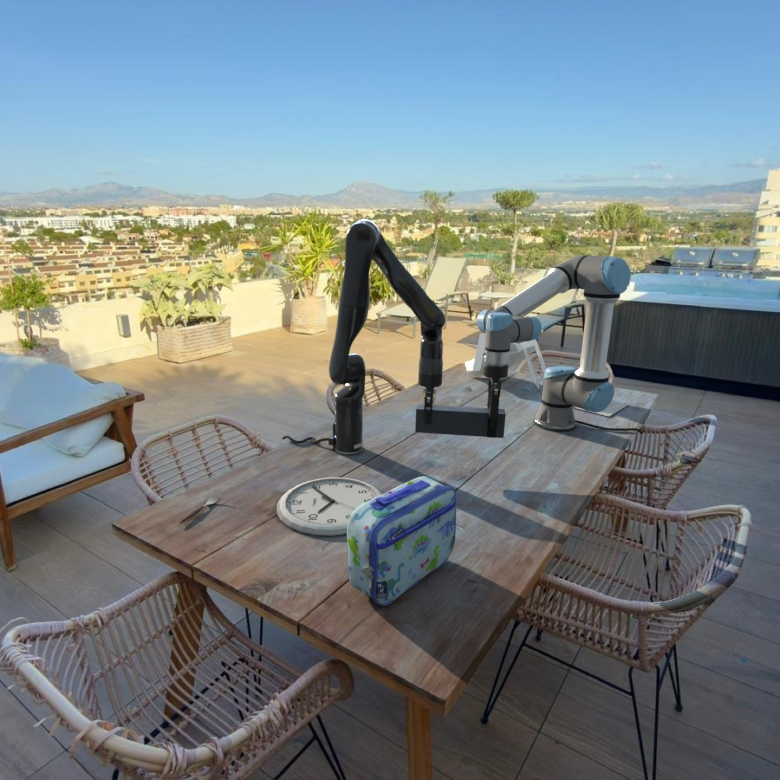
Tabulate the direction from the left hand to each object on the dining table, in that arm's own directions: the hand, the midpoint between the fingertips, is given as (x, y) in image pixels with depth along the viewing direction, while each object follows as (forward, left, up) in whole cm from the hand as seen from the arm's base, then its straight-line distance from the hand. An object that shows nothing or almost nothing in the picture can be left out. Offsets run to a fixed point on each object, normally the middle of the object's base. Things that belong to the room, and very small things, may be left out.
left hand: (428, 420), depth 169 cm
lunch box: (+24, -58, -13) cm, 64 cm away
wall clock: (-8, -41, -13) cm, 44 cm away
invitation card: (+40, +88, -13) cm, 98 cm away
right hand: (+18, +8, -3) cm, 20 cm away
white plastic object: (-8, +99, -13) cm, 100 cm away
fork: (-36, -63, -13) cm, 73 cm away
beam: (+9, +4, -3) cm, 11 cm away
